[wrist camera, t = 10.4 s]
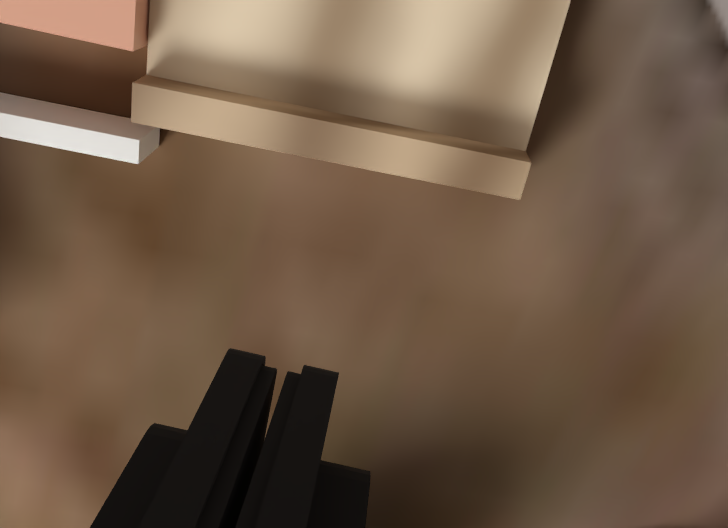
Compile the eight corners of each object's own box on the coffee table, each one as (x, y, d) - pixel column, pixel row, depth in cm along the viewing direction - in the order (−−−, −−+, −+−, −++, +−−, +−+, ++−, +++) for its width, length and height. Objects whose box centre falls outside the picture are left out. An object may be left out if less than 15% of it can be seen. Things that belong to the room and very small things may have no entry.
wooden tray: (598, -135, 24) (625, -144, 21) (505, 181, 30) (516, 211, 27) (179, -223, 24) (143, -246, 21) (160, 112, 29) (130, 134, 26)
